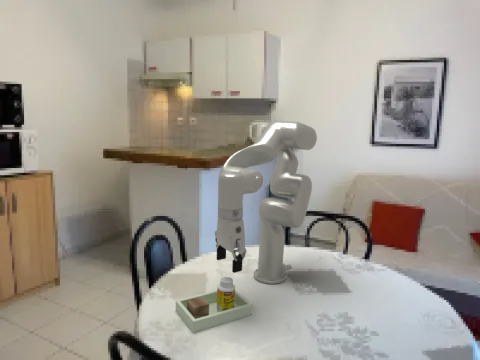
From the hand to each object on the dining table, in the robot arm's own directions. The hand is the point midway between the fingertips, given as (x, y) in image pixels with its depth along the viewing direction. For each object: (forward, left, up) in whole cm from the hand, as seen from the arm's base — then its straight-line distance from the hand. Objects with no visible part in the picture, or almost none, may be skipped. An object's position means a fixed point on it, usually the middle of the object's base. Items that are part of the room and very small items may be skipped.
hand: (228, 265), depth 110 cm
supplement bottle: (+1, 0, -15) cm, 15 cm away
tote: (+5, 0, -16) cm, 16 cm away
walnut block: (+10, 0, -15) cm, 18 cm away
